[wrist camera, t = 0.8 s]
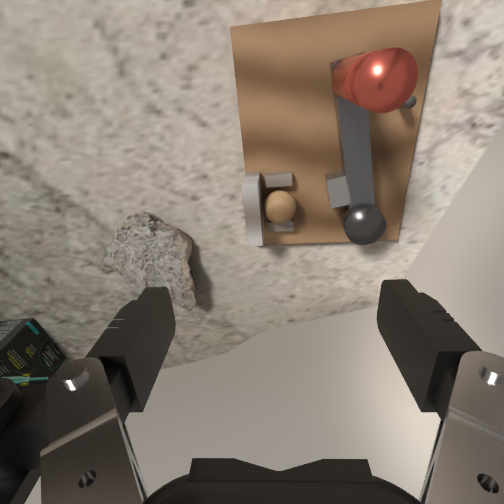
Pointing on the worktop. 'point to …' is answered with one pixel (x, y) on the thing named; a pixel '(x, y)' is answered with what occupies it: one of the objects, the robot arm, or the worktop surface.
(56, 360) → the tampon box
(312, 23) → the base
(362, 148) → the lever
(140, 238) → the rock
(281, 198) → the tan wooden ball
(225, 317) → the worktop surface
